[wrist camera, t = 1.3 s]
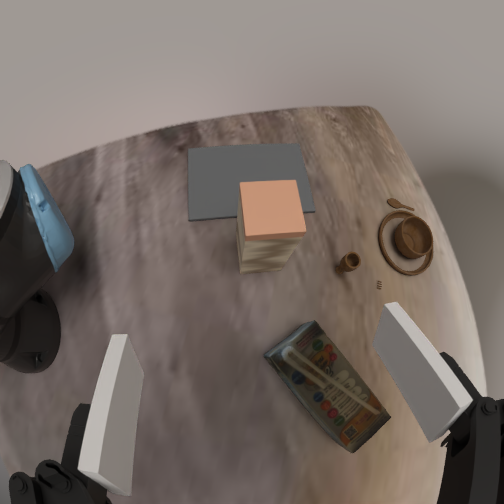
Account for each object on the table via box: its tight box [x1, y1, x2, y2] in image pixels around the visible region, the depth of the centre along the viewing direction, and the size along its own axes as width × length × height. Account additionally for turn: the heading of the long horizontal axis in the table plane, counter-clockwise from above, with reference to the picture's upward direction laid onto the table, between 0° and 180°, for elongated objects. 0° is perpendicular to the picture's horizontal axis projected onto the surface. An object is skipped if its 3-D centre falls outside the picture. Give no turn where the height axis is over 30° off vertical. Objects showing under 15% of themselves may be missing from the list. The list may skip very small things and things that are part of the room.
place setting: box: [336, 198, 433, 289], centre depth 43 cm, size 18×20×6 cm
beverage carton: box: [264, 320, 391, 453], centre depth 34 cm, size 8×19×7 cm, turn 37°
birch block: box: [236, 180, 306, 274], centre depth 36 cm, size 6×6×15 cm
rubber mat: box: [188, 144, 315, 221], centre depth 46 cm, size 20×14×1 cm
